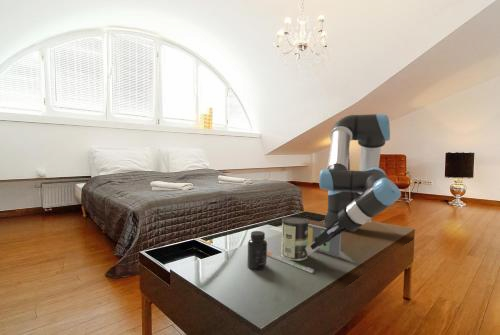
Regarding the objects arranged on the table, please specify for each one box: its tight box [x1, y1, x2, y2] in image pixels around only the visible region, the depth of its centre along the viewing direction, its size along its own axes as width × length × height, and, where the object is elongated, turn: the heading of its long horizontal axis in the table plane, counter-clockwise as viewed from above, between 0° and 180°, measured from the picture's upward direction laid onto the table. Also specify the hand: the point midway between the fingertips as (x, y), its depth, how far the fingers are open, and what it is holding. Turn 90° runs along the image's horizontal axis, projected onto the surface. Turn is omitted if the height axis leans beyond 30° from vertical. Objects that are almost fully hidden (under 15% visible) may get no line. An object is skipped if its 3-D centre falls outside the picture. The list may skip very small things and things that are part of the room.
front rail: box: [267, 251, 315, 274], centre depth 95 cm, size 1×26×1 cm, turn 45°
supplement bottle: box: [246, 230, 268, 271], centre depth 89 cm, size 7×7×12 cm
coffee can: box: [280, 216, 310, 262], centre depth 100 cm, size 10×10×14 cm
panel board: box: [308, 223, 342, 259], centre depth 108 cm, size 1×26×10 cm, turn 45°
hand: (307, 251), depth 96 cm, fingers closed
